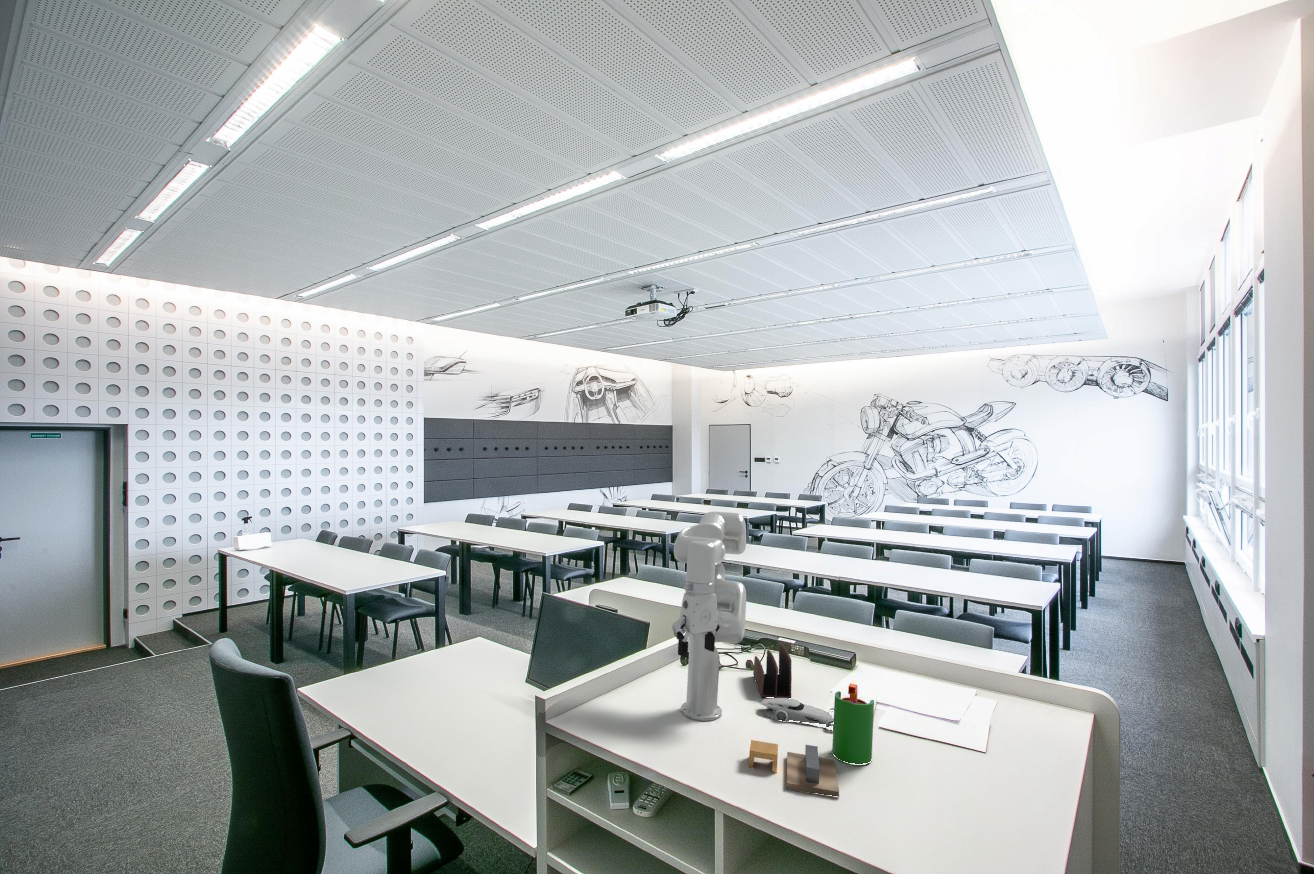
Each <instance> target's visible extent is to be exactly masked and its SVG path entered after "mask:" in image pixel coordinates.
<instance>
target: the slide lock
mask: <svg viewBox="0 0 1314 874" xmlns="http://www.w3.org/2000/svg"><path fill="white" fill-rule="evenodd" d="M778 751H779V744H778V743H773V742H766V741H761V740H753V739H750V746H749V753H748V755H749V757H748V758H749V760H748V769H750V770H753V769H754V763H755V758H758V759H762V760H763V759H764V760H769V761H772V769H771V770H772V771H771V772H772V773H773V772H774V774H777V771H778V753H779V752H778Z"/></svg>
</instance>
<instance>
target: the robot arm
mask: <svg viewBox="0 0 1314 874" xmlns="http://www.w3.org/2000/svg"><path fill="white" fill-rule="evenodd" d="M746 548H747V524H746V521H745V518H744V517H743V515H741V514H740V513H737V512H729V511H728V512H727V511H709V512H706V513H704V514H703V516H701V518H700V520H699V523H698V524H694V525H691V526H688V527H685V528H683V529H682V530H680V531H679V532H678V535H677V536H676V539H675V541H674V546H673V555H674V557H675V560H676V561H678V562H679V563H681V564H686V573H685V574H686V577H685V585H684V586H683V589H684V591H685V592H684V593H683V596H682V601H681V606H680V607H681V608H680V615H679V619H677V620H676V621H674V623H672V624H671V628H672V630H673V631H672V632H673V635H674V636H675V637H676V639H677V642H678V645H677V655H678V656H681V657H683V658H688V662H687V663H688V667H687V682H686V685H687V686H686V702H684V703H682V704H681V706H680V712H681V713H682V714H683V715H684V716H685V717H687V718H689V719H691V720H696V721H705V722H706V721H707V722H708V721H709V722H710V721H715V720H718V719H719V718H721V717H722V715H723V710H722V708H721V707H720V705H718V697H719V696H718V695H719V679H720V678H719V676H720V675H719V674H720V659H721V658H720V654H719V653H720V652H719V651H718V649H717V646H716V645H715V643H723V644H725V643H726V644H739V643H741V642H742V641H743V638H744V637H745V630H746V629H745V628H746V613H747V612H746V610H747V591H746V587H745V585H744V583H742V582H740V581H736V580H728V579H725V575H726V569H725V566H724V564H723V563H722V562H723V561H724V560H725V557H726V555H727V554H728V555H741V554H743V553H744V552H745V550H746Z"/></svg>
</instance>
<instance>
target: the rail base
mask: <svg viewBox="0 0 1314 874" xmlns="http://www.w3.org/2000/svg"><path fill="white" fill-rule="evenodd" d="M818 758H819V768H820V772H819V784H815V783H809V782H806V770H805V753H804V754H803V753H799V752H798V753H797V752H791V751H787V752H786V790H787V791H793V790H794V791H795V792H799V791H801V793H805V792H809V793H808V794H811V793H818V794H824V795H832V796H839V797H840V789H839V783H838V776H837V769H836V763H835V762H836V761H835V759H834V758H828V757H823V756H822V757H821V756H818Z"/></svg>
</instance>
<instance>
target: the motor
mask: <svg viewBox="0 0 1314 874" xmlns="http://www.w3.org/2000/svg"><path fill="white" fill-rule="evenodd" d="M847 688H848V689H847V690H848V692H847V694H848V695H849V697H843V698H841V697H842V692H841V691H839V690H838V691H836V692H835V693H834V701H833V702H834V703H833V704H834V705H833V706H834V707H833V708H834V711H833V717H834V724H833V731H832V746H831V747H832V748H831V753H832V752H833V754H834V755H835V756H836V757H837V758H838V759H840V760H842V761H845V762H848V763H855V764H863V763H868V762H870V761H871V759H873V737H874V735H873V734H874V715H875V713H874V712H875V700H874V699H871V700H869V702H868V703H867V702H866V701H865V700H862V699H861V698H858V684H854V683H849V684H848V686H847ZM833 754H832V755H833ZM838 759H837V760H838ZM840 760H839V761H840ZM842 761H841V762H842ZM871 762H872V761H871Z"/></svg>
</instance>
